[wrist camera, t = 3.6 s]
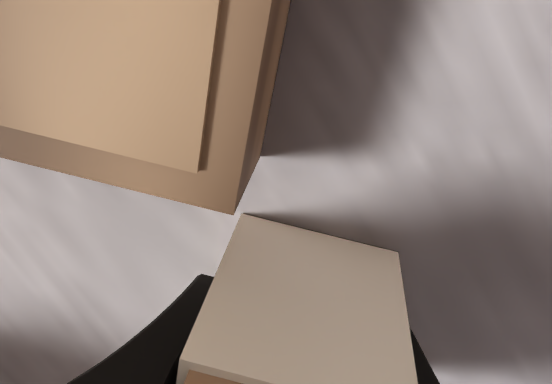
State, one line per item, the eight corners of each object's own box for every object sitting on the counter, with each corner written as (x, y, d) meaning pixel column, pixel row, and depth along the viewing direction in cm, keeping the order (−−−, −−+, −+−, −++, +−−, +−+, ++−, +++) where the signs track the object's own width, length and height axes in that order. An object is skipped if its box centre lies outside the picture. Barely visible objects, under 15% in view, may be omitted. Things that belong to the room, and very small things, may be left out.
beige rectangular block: (398, 252, 13) (430, 467, 7) (353, 362, 15) (354, 592, 9) (241, 213, 13) (163, 396, 8) (219, 328, 15) (146, 535, 10)
